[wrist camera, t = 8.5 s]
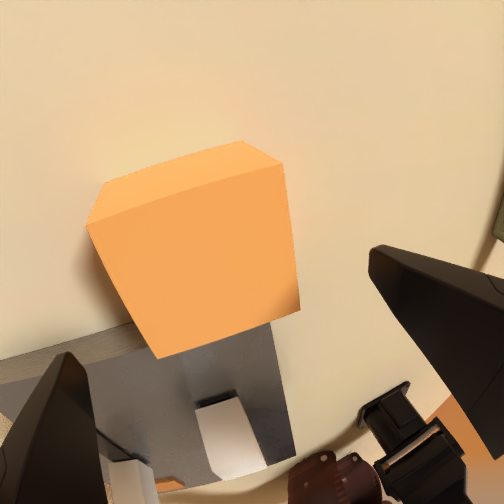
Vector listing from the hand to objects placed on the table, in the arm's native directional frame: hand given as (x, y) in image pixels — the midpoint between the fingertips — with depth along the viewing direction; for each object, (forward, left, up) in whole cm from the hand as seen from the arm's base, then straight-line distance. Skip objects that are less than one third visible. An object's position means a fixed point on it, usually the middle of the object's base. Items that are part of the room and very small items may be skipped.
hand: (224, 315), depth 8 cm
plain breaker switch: (-11, +2, -3) cm, 12 cm away
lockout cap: (0, 0, -6) cm, 6 cm away
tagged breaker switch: (-16, +11, -3) cm, 20 cm away
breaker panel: (-15, +7, -6) cm, 17 cm away
